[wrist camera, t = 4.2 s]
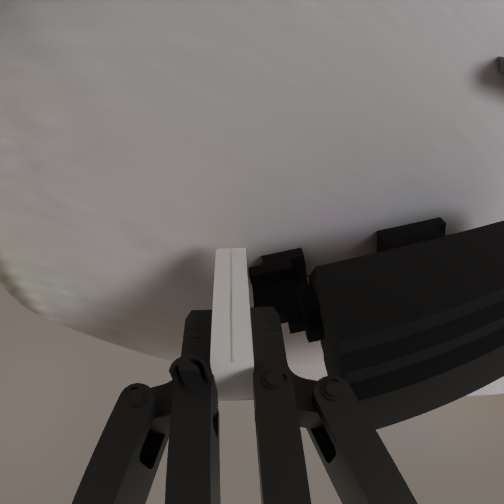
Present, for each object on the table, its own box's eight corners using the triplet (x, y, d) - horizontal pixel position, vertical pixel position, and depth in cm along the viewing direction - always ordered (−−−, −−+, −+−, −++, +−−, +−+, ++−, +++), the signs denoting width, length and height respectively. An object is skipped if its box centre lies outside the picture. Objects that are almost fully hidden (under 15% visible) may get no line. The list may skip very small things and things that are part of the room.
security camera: (238, 224, 16) (246, 402, 8) (506, 174, 15) (607, 261, 7) (263, 313, 20) (280, 459, 12) (490, 254, 19) (560, 347, 11)
